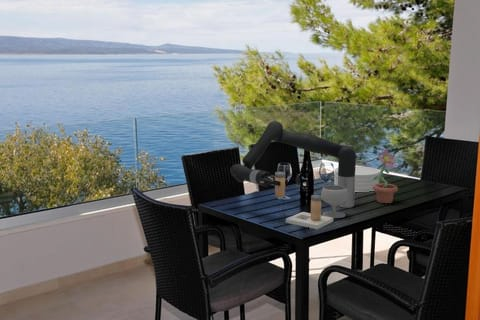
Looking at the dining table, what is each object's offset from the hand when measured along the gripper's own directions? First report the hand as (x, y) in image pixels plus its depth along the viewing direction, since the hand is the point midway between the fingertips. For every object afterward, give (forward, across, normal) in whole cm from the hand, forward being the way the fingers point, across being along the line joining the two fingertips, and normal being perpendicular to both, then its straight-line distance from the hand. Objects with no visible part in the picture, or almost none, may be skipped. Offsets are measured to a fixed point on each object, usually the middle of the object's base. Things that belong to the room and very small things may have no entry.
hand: (283, 182), depth 266 cm
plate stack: (-19, +88, +20) cm, 92 cm away
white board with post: (+10, +8, +20) cm, 24 cm away
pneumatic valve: (-34, +55, +20) cm, 68 cm away
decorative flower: (+14, +69, +20) cm, 73 cm away
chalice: (+11, +27, +20) cm, 35 cm away
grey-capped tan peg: (-3, 0, +7) cm, 8 cm away
